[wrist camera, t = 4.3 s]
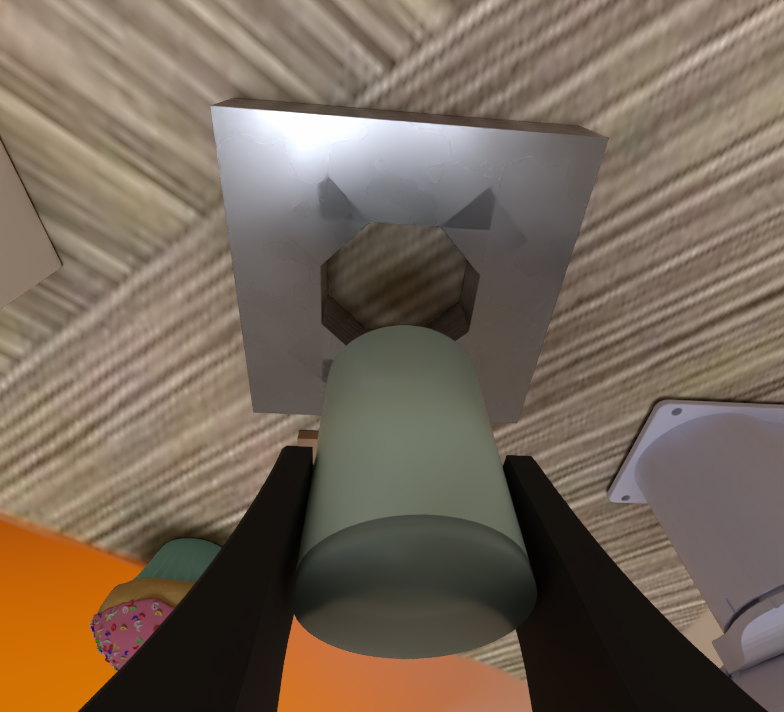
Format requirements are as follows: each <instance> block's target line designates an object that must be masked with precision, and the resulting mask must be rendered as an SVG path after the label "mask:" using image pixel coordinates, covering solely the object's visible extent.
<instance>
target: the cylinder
mask: <svg viewBox="0 0 784 712" xmlns="http://www.w3.org/2000/svg"><path fill="white" fill-rule="evenodd" d="M536 599H537V587H536V583H535V579H534V576H533V572H532V569H531V565H530V562H529V558H528V555H527V551H526V548H525V544H524V541H523V537H522V534H521V530H520V527H519V523H518V520H517V516H516V513H515V509H514V506H513V502H512V499H511V495H510V491H509V488H508V484H507V481H506V477H505V474H504V470H503V467H502V463H501V460H500V456H499V453H498V449H497V446H496V442H495V439H494V435H493V432H492V428H491V425H490V421H489V418H488V414H487V411H486V407H485V404H484V400H483V397H482V393H481V390H480V386H479V383H478V379H477V375H476V372H475V369H474V366H473V363H472V361H471V359H470V358H469V356H468V354H467V353H466V352H465V351H464V349H463V348H462V347H461V346H460V345H459V344H457V343H456V342H455V341H454V340H452V339H451V338H449V337H448V336H446V335H444V334H442V333H440V332H437V331H435V330H432V329H428V328H424V327H420V326H411V325H397V326H388V327H383V328H379V329H376V330H373V331H370V332H367V333H365V334H363V335H361V336H359V337H358V338H356V339H355V340H353V341H351V342H350V343H349V344H348V345H347V346H346V347H344V348H343V349H342V351H341V352H340V353H339V354H338V355H337V357H336V358H335V360H334V361H333V363H332V366H331V368H330V371H329V375H328V379H327V385H326V391H325V397H324V404H323V410H322V416H321V422H320V428H319V434H318V440H317V446H316V452H315V458H314V464H313V471H312V477H311V483H310V489H309V495H308V501H307V507H306V513H305V519H304V525H303V531H302V538H301V544H300V550H299V556H298V562H297V568H296V574H295V580H294V586H293V592H292V609H293V613H294V615H295V617H296V619H297V620H298V622H299V623H300V624H301V625H302V626H303V627H304V628H305V629H306V630H307V631H308V632H309V633H310V634H312V635H313V636H315V637H316V638H318V639H320V640H322V641H323V642H326V643H327V644H330V645H332V646H335V647H337V648H340V649H343V650H346V651H349V652H353V653H357V654H362V655H368V656H373V657H382V658H396V659H418V658H432V657H440V656H446V655H452V654H457V653H461V652H465V651H469V650H472V649H475V648H479V647H482V646H484V645H487V644H489V643H492V642H494V641H496V640H498V639H500V638H502V637H504V636H506V635H507V634H509V633H510V632H512V631H513V630H515V629H516V628H517V627H518V626H520V625H521V624H522V623H523V622H524V621H525V620H526V619H527V618H528V616H529V615H530V613H531V612H532V610H533V608H534V606H535V603H536Z"/></svg>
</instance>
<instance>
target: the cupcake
mask: <svg viewBox="0 0 784 712" xmlns="http://www.w3.org/2000/svg"><path fill="white" fill-rule="evenodd" d="M221 548H222V547H220V546H218V545H217V544H214V543H212V542H209V541H206V540H202V539H196V538H181V539H176V540H172V541H170V542H168V543H166V544H165V545H163V546H162V547H161V549H160V550H159V551H158V552H157V554H156V555H155V556H154V557H153V559H152V560H151V561H150V562H149V563H148V565H147V566H146V567H145V568H144V569H143V570H142V571H141V573H140V574H139V575H138V576H137V577H136V578H135V579H134V580H132V581H129V582H127V583H124V584H119V585H117V586H116V587H115V588H114V589H113V590H112V591H111V592H110V594H109V595H108V597H107V598H106V599H105V601H104V602H103V604H102V605H101V607H100V609H99V611H98V613H97V614H95V615H94V617H93V620H92V621H91V622H90V624H89V625H91V624H92V623H93V624H92V626H91V629H92V631H93V638H94V637H95V638H96V643H97V649H99V652H100V653H101V654H104V655H105V656H106V659H105V660H106V661H107V662H109V663H110V665H112V666H114V669H115V671H117V670H118V671H119V670H120V668H121V667H122V666H123V665H124V664H125V663H126V662H127V661H128V660H129V659H130V658H131V657H132V656H133V655H134V653H135V652H136V651H137V650H138V649H139V648H140V647H141V646H142V645H143V644H144V643H145V641H146V640H147V639H148V638H149V637H150V636H151V635H152V633H153V632H154V631H155V630H156V629H157V628H158V627H159V626H160V624H161V623H162V622H163V621H164V620H165V619H166V618H167V617H168V615H169V614H170V613H171V612H172V611H173V610H174V608H175V607H176V606H177V605H178V604H179V602H180V601H181V600H182V599H183V597H184V596H185V595H186V594H187V593H188V591H189V590H190V589H191V588H192V586H193V585H194V584H195V583H196V581H197V580H198V579H199V578H200V576H201V575H202V574H203V573H204V571H205V570H206V569H207V567H208V566H209V565H210V563H211V562H212V561H213V559H214V558H215V556H216V555H217V554H218V552H219V551H220V550H221ZM102 652H103V653H102ZM107 659H108V660H107ZM111 663H112V664H111Z"/></svg>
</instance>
